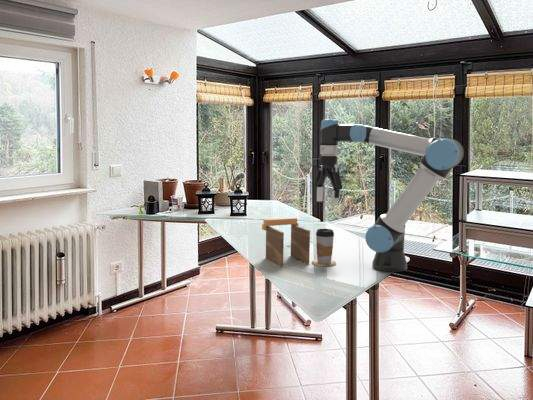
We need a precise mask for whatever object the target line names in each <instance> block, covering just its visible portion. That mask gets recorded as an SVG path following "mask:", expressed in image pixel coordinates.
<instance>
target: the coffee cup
mask: <svg viewBox="0 0 533 400" xmlns="http://www.w3.org/2000/svg"><path fill="white" fill-rule="evenodd" d="M315 236H316V240H315V241H316V258H317V259H316V260H317V261H318V263H321V264H329V263H331V260H333V259H332V256H333V249H334V248H333V247H334V239H335V238H334V237H335V232H334V230H333V229H331V228H318V229H317V230H316V232H315Z"/></svg>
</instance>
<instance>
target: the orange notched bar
mask: <svg viewBox="0 0 533 400" xmlns="http://www.w3.org/2000/svg"><path fill="white" fill-rule="evenodd" d="M291 224H294V225H297V226H299V222H298V217H295V216H294V217H279V218H263V223H262V225H261V230H262V231H266V226H270V227H273V226H289V225H290V226H291Z"/></svg>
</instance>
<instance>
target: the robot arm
mask: <svg viewBox="0 0 533 400" xmlns="http://www.w3.org/2000/svg"><path fill="white" fill-rule="evenodd" d="M339 142H342V143H343V142H345V143H364V144H370V145H374V146H378V147H382V148H386V149H391V150H394V151H399V152H404V153H408V154H413V155H417V156H421V157H422V158H421V159H420V161H419V164H420V167H419V169H418V170H417V171H416V172H415V174H414V175H413V177H412V178H411V180H410V181H409V182H408V184H407V185H406V187H405V188H404V189H403V190H402V192H401V193H400V194H399V196H398V197H397V199H396V200H395V201H394V203H393V204H392V205H391V207H390V208H389V209H388V211H387V212H386V213H383V214H381V215H380V216H378V218H377V220H376V221H375V222H374V224H373V225H372V226H370V227H368V229H367V230H366V233H365V242H366V245H367V247H368V248H369V249H371V250H372V251H373V252H375V254H374V256H373V257H374V258H373V260H372V262H371V263H372V268H373V269H375V270H377V271H381V270H382V272H387V271H390V273H399V272H405V271H406V270H408V262H407V259H406V255H405V251H404V250H405V234H406V233H405V232H406V231H405V230H406V224H407V223H408V221H409V220H410V218H411V217H412V215H413V214H414V213H415V212H416V210H417V209H418V208H419V206H420V205H421V204H422V202H423V201H424V200H425V199H426V197H427V196H428V194H429V193H430V192H431V190H433V188H434V187H435V186H436V184H437V182H438V181H439V180H442V179H446V177H447V176H448V175H449V174H450V172H452V169H453V168H454V167H456V166H457V165H459V164H460V163H461V161H462V160H463V158H464V155H465V154H464V153H465V151H464V150H465V149H464V146H463V145H462V143H460V142H459V141H458V140H456V139H454V138H447V137H446V138H445V137H442V138H440V137H439V138H438V137H431V138H428V137H422V136H417V135H413V134H408V133H403V132H398V131H392V130H388V129H383V128H381V127H380V128H379V127H374V126H373V127H372V126H370V125H367V124H362V123H361V124H360V123H348V124H347V123H344V124H343V123H339V120H338V119H329V118H328V119H326V118H325V119H322V120H321V122H320V146H319V150H320V151H319V154H320V156H319V165H318V166H317V172H316V176H315V179H314V183H313V184H314V186H315V187H316V202H319V203H320V202H323V201H324V198H323V197H324V183H325V181H326V178H329V180H330V182H331V186H332V195H331V197H332V198H331V199H332V200H331V206H339V203H340V202H339V198H340V190H343V183H342V180H341V175H340V167H338V166H335V165H337V164H338V151H339V150H338V145H339ZM391 271H392V272H391Z"/></svg>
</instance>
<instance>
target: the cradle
mask: <svg viewBox="0 0 533 400" xmlns="http://www.w3.org/2000/svg"><path fill="white" fill-rule="evenodd" d="M284 235H285V233H284V232H283V231H282V230H279V229H276V228H275V227H273V226H266V230H265V259H266V260H269V262H271V263H272V264H275V265H276V266H278V267H280V268H283V267H284V246H285V245H284V244H285V243H284V240H285V239H284ZM310 242H311V230H310V229H307V228H305V227H302V226H299V225H298V226H297V225H294V224H291V225H290V257H291V258H294V259H296V260H298V261H299V262H302V263H304V264H305V265H310V254H311V253H310V249H311V247H310V245H311V243H310Z"/></svg>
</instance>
